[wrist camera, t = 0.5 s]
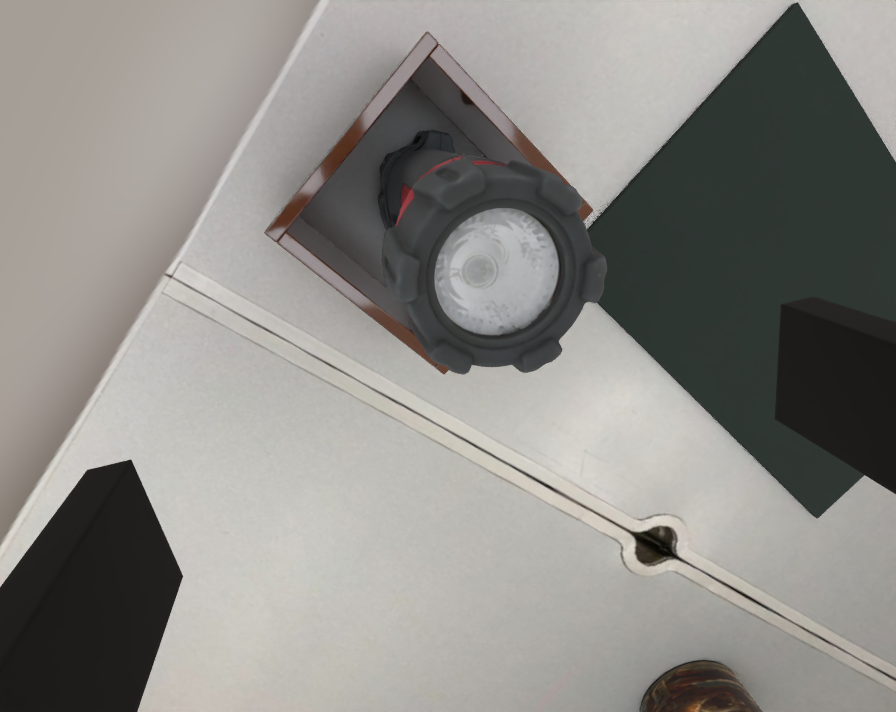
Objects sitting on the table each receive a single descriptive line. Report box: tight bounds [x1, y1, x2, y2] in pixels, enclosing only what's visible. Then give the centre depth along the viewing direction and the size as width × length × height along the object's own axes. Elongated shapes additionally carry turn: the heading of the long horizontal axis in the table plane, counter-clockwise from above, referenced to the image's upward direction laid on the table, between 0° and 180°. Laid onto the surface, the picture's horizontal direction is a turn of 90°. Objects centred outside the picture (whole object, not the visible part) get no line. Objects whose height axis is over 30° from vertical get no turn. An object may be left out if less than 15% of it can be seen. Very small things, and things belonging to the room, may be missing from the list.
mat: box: [587, 3, 896, 518], centre depth 49 cm, size 24×40×1 cm, turn 47°
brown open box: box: [264, 31, 593, 374], centre depth 36 cm, size 13×13×9 cm
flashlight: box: [378, 131, 607, 374], centre depth 29 cm, size 8×8×23 cm
